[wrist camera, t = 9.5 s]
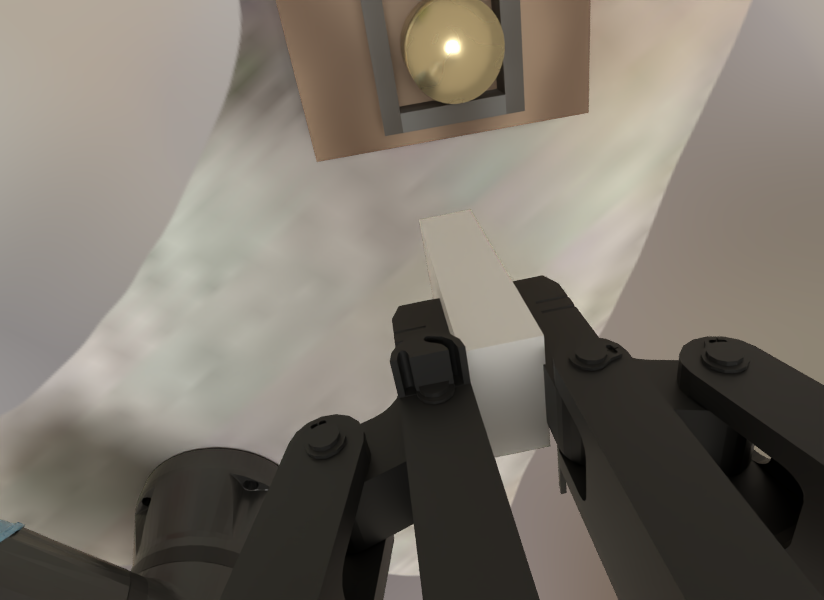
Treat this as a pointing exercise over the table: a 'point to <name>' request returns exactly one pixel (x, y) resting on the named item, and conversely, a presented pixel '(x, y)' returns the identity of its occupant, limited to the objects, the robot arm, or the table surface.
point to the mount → (397, 91)
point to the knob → (452, 48)
